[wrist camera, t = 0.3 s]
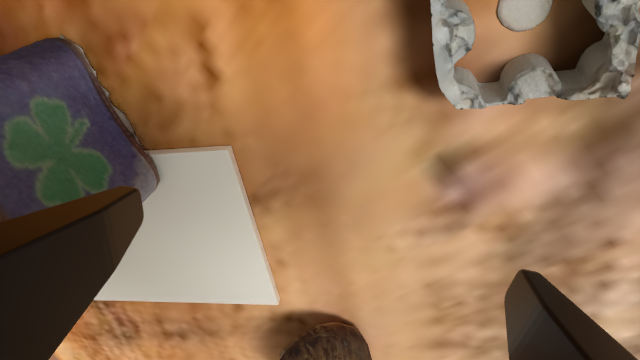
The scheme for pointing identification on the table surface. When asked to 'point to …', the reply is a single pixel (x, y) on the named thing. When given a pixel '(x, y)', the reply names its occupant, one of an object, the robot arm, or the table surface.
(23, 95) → the flask
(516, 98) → the egg carton
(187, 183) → the serving board
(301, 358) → the mushroom
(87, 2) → the table surface
